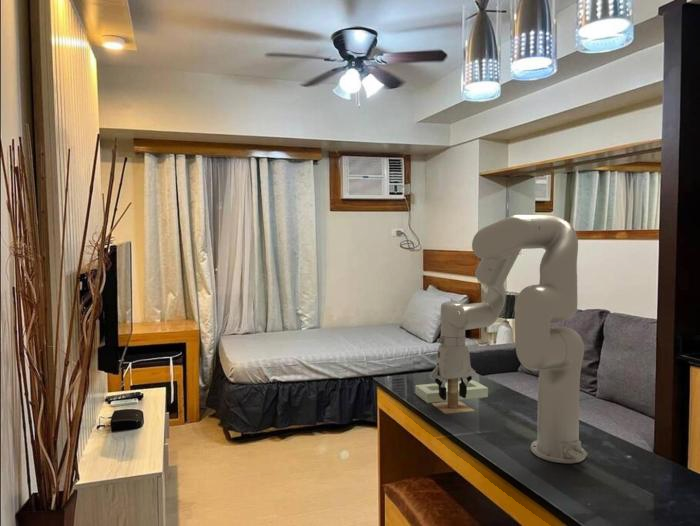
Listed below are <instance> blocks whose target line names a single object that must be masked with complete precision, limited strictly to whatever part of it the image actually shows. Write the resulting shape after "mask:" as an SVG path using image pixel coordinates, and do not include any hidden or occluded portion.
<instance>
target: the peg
mask: <svg viewBox="0 0 700 526" xmlns="http://www.w3.org/2000/svg"><path fill="white" fill-rule="evenodd" d="M458 381H459V378H458V379H447V382H448V401H447V402H448V408H451V409H456V408H458V401H459V400H458Z"/></svg>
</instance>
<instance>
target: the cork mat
mask: <svg viewBox="0 0 700 526" xmlns="http://www.w3.org/2000/svg"><path fill="white" fill-rule="evenodd" d="M431 405H433V406H434V407H435V408H437V409H438V410H439V411H441V412H442V413H443V414H444V415H447V414H448V415H450V414H457V413H467V412H475V411H476V410H474V409H473V408H472V407H470V406H468V405H467V404H465V403H464V402H463V401H462V400H458V408H456V409H451V408H448V401H443V402H433V403H431Z"/></svg>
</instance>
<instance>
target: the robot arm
mask: <svg viewBox="0 0 700 526" xmlns="http://www.w3.org/2000/svg"><path fill="white" fill-rule="evenodd" d="M578 238H579V237H578V235H577V233H576V230H575V228H574V227H573V225H572V224H571V223H570V222H569V221H567V220H566V219H563V218H561V217H558V216H554V215H549V214H548V215H547V214H515V215H511V216H508V217H505V218H504V219H500V220H499V221H495V222H493V223H491V224H489V225H487V226H484V227H482V228H480V229H479V230H478V231H477V232H476V234H475V235H474V236H473V238H472V242H471V249H472V253H473V254H474V255H475V256H476V257H477V258H479V259H481V260H480V261H479V263H478V266H477V267H476V269H475V274H474V275H475V277H476V279H477V280H478V281H479V283H481V284H482V285H484V286H485V287H487V291H486V294H485V296H484V298H483V300H482V302H477V303H476V302H475V303H474V302H473V303H466V304H464V302H461V301H445V302H442V304H441V305H440V336H439V338H437V339H436V342H437V344H438V343H439V344H440V345H438V348H437V354H436V365H435V368H434V369H433V370H432V371H431V372H430V374H429V375H428V376H429V377H430V378H431V379H432V380H433V381H434V383H437V384H438V385H439V396H440V398H441V399H443V400H446V387H445V383H446V382H448V379H458V380H460V381H461V383H460V384H459V395H460V396H461V397H463V398H466V394H467V385H468V383H469V381H470V380H473V379H472V378H473V377H475V375H476V374H477V372H476V371H475V369H474V368H472V366H471V357H470V351H469V345H467V344H466V331H468V330H475V329H482V328H487V327H490V326H492V325H494V324H495V322H497V320H498V318H499V317H500V316H501V313H502V312H503V309H504V307H505V304H506V289H505V286H504V283H505V282H506V280H507V278H508V276H509V273H510V272H511V270H512V268H513V266H514V264H515V262H516V260H517V258H518V257H519V255H520V253H521V250H526V249H527V250H529V249H532V250H533V249H544V250H545V252H544V253H543V255H542V258H541V259H540V265H539V283H538V284H531V285H528V286H526V287H524V288H523V289H521V291H520V292H519V293H518V295H517V297H516V300H515V304H514V343H515V344H514V345H515V352H516V353H515V354H516V357H517V358H518V361H519V363H520V364H521V365H522V366H523V367H524V368H526V369H527V370H531V371H536V372H537V371H538V372H539V374H538V379H537V380H538V381H537V436H536V437H537V438H536V440H534V441H533V442H531V443H530V450H531V451H530V452H532V453H533V454H534V455H535V456H536V457H538V458H539V459H542V460H545V461H548V462H552V463H559V464H576V463H581V462H583V461H584V460H585V459H586V457H587V456H588V452H587V450H585V449H584V448H583V447H582V441H581V440H580V439H579V438H580V389H581V388H580V383H581V371H582V367H583V360H584V356H585V344H584V341H583V338H582V337H581V335H580V334H579V332H577V331H576V330H574V329H573V328H571V327H568V326H552V327H551V324H552V323H553V324H554V323H560V322H565V321H568V320H571V319H572V318H573V317H575V315H576V313H577V310H578V254H579V239H578ZM437 376H438V377H437Z"/></svg>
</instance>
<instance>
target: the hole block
mask: <svg viewBox="0 0 700 526" xmlns="http://www.w3.org/2000/svg"><path fill="white" fill-rule="evenodd" d="M460 383H461V381H459V380H458V401H462V400H463V401H464V400H469V399H472V400H473V399H480V398H481V399H483V398H488V397H489V387H487V386H485V385H483V384H482V383H480V382H478V381H475V380H474V379H471V380H470V381H469V383H468V385H467V394H466V398H463V397H461V396H460V395H459V384H460ZM445 387H446V400H443V399H441V398H440V396H439V385H438V384H437V383H436V382H434V383H426V384H425V383H424V384H416V385H415V388H414V389H415V395H416V396H418V397H419V398H420V399H421V400H423V401H424V402H425V403H426V404H432V403H442V402H448V381H446V383H445Z"/></svg>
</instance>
